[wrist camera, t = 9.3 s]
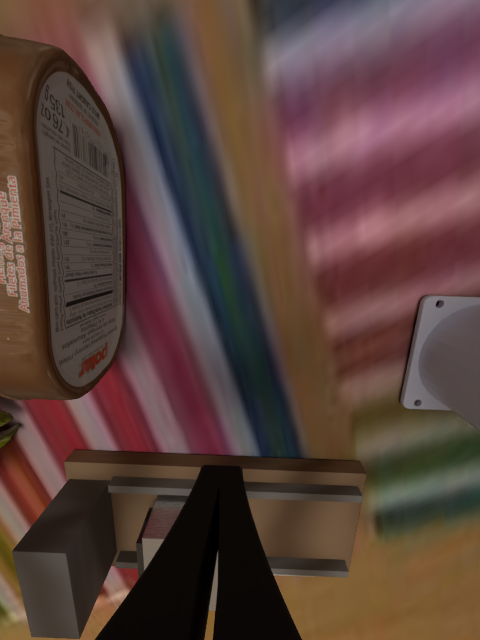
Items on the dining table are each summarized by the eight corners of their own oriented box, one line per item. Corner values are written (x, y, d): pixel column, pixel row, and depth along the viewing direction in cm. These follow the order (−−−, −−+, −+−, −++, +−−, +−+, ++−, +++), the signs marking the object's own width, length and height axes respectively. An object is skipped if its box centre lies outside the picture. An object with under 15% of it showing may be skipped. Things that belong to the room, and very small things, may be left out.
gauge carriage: (227, 494, 19) (223, 541, 16) (224, 576, 21) (221, 633, 17) (150, 491, 19) (132, 537, 16) (155, 573, 21) (139, 630, 17)
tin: (81, 112, 14) (-130, -80, 6) (136, 118, 15) (-2, -65, 6) (90, 358, 18) (-38, 440, 10) (135, 362, 18) (44, 448, 10)
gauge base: (359, 461, 20) (408, 546, 14) (342, 560, 22) (378, 669, 16) (74, 449, 20) (3, 530, 14) (88, 549, 22) (32, 654, 16)
